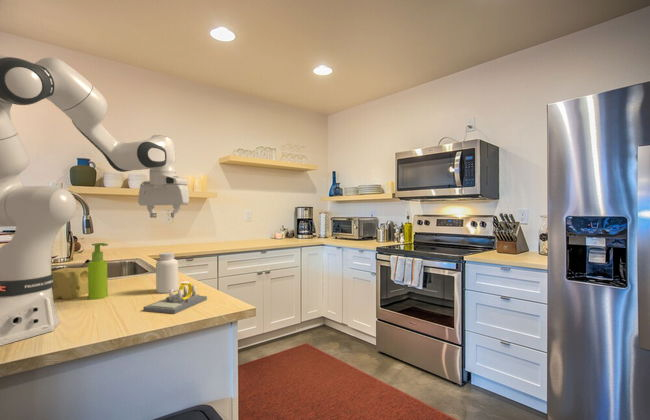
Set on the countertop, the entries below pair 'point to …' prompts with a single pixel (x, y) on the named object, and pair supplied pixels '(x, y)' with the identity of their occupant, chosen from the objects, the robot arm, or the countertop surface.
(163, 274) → the pill bottle
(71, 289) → the cheese
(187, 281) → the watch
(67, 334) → the countertop surface
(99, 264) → the soap dispenser
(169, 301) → the gray pegged board
